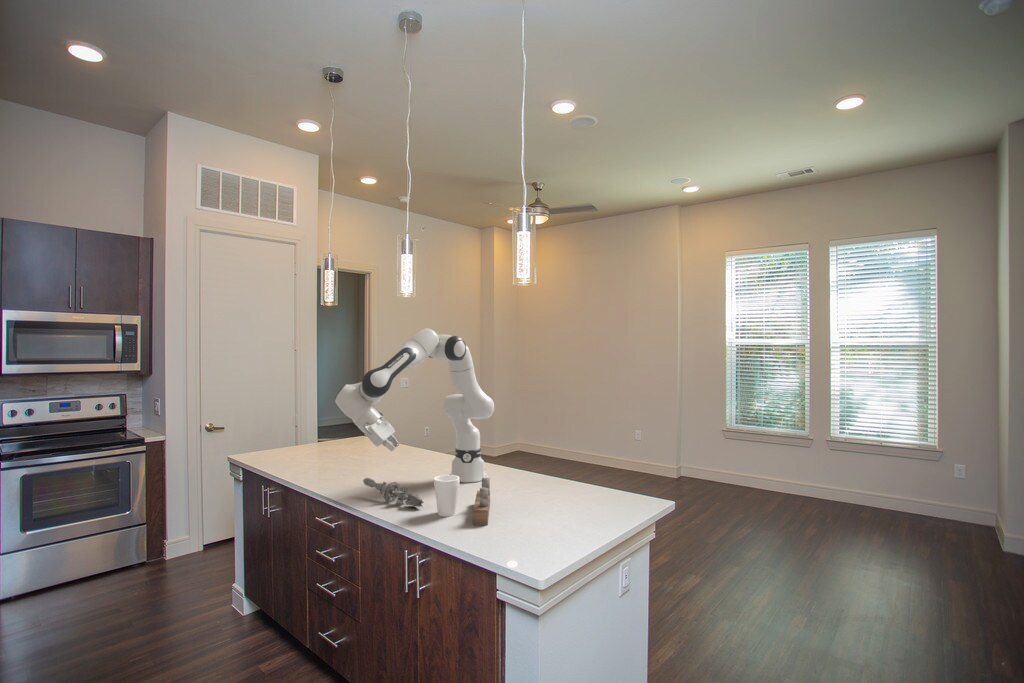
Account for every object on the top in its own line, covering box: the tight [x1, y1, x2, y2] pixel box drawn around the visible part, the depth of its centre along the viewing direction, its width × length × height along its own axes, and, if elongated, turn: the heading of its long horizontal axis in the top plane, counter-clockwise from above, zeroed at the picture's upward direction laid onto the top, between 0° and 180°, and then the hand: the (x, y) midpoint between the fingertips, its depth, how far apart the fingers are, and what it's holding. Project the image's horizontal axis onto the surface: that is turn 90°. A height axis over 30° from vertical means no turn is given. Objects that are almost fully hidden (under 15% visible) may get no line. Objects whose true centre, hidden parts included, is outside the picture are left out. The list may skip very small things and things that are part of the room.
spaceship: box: [362, 477, 425, 508], centre depth 201 cm, size 8×35×8 cm
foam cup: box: [433, 474, 461, 518], centre depth 187 cm, size 10×9×13 cm
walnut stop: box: [472, 477, 491, 526], centre depth 187 cm, size 24×5×11 cm, turn 1°
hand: (395, 447), depth 190 cm, fingers open, 6 cm apart
